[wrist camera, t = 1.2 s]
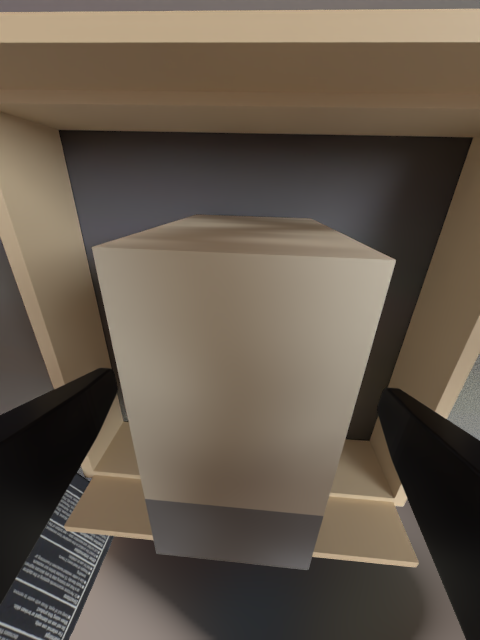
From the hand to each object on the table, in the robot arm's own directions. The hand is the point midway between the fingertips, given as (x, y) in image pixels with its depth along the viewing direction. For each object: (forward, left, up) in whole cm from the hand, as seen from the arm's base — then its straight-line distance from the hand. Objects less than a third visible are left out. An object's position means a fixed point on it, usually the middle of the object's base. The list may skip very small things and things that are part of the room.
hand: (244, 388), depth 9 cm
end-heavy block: (0, 0, -5) cm, 5 cm away
